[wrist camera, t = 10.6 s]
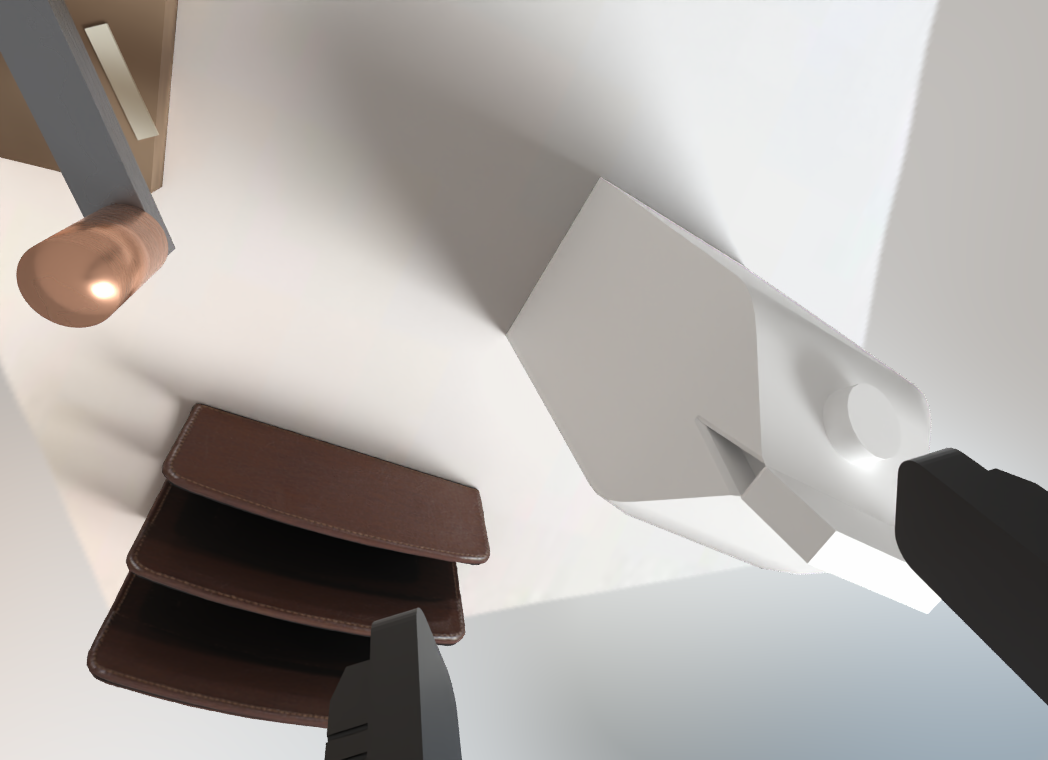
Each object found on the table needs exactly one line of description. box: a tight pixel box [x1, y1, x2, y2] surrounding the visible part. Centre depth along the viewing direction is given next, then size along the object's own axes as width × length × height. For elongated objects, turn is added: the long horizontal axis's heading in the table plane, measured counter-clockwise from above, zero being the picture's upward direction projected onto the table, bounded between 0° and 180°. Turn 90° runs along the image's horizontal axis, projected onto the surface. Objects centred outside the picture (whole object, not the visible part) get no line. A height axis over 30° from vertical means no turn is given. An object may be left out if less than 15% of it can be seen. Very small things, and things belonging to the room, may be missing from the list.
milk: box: [506, 177, 941, 614], centre depth 33 cm, size 12×12×26 cm
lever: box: [0, 0, 175, 328], centre depth 24 cm, size 17×4×8 cm, turn 11°
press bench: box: [0, 0, 178, 193], centre depth 29 cm, size 14×8×7 cm, turn 163°
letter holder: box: [87, 404, 490, 728], centre depth 41 cm, size 10×20×14 cm, turn 63°
